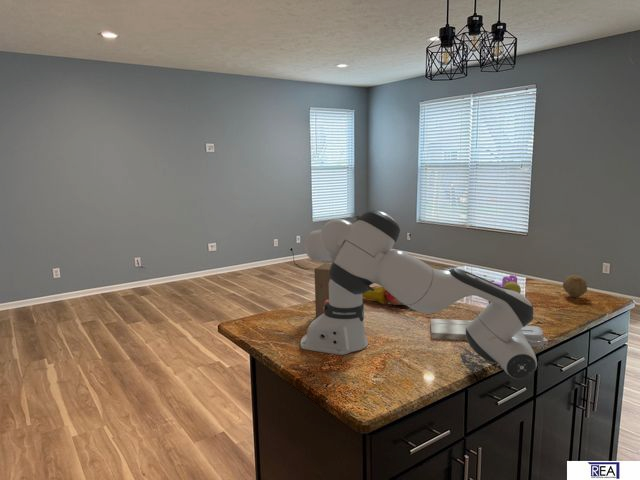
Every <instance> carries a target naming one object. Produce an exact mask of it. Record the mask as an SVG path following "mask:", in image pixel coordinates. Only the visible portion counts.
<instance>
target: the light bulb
mask: <svg viewBox="0 0 640 480" xmlns="http://www.w3.org/2000/svg"><path fill="white" fill-rule="evenodd" d="M504 288H507V289H511V290H513V291H516V292H518V293H520V294H521V292H522V290H521V286H520V285H519V283H518V282H517V283H515V282H508V283H506V284H505V285H504Z"/></svg>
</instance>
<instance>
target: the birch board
mask: <svg viewBox="0 0 640 480" xmlns="http://www.w3.org/2000/svg"><path fill="white" fill-rule="evenodd" d="M473 320H474V319H473ZM473 320H469V319H468V320H467V319H466V320H465V319H450V318H449V319H447V318H430V334H431V336H430V337H431V339H443V340H461V341H463V340H464V341H467V337H466V327H467V326H468V324H470V323H471V322H472V321H473Z"/></svg>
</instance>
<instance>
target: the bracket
mask: <svg viewBox="0 0 640 480" xmlns="http://www.w3.org/2000/svg"><path fill="white" fill-rule="evenodd" d="M501 282H502V283H500V282H495V281H494V282H492V283H494V284H496V285H499V286H501V287H504V285H505V284H506V283H508V282H515V283H517V284H518V277H517V276H516V275H515V274H510V275H509V276H507V275H506V276H503V278H502V280H501Z"/></svg>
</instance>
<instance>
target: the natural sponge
mask: <svg viewBox="0 0 640 480" xmlns="http://www.w3.org/2000/svg"><path fill="white" fill-rule="evenodd" d="M562 287H563V290H564V291H565V292H566V293H567V294H568V295H569V296H570V297H571V298H574V299H576V298H579V297H580V296H583V295H584V294H586V293H587V291H588V285H587V283H586V280H585V278H583V276H580V275H578V274H572V275H569V276H567V277H566V278H565V279H564V282H562Z"/></svg>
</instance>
